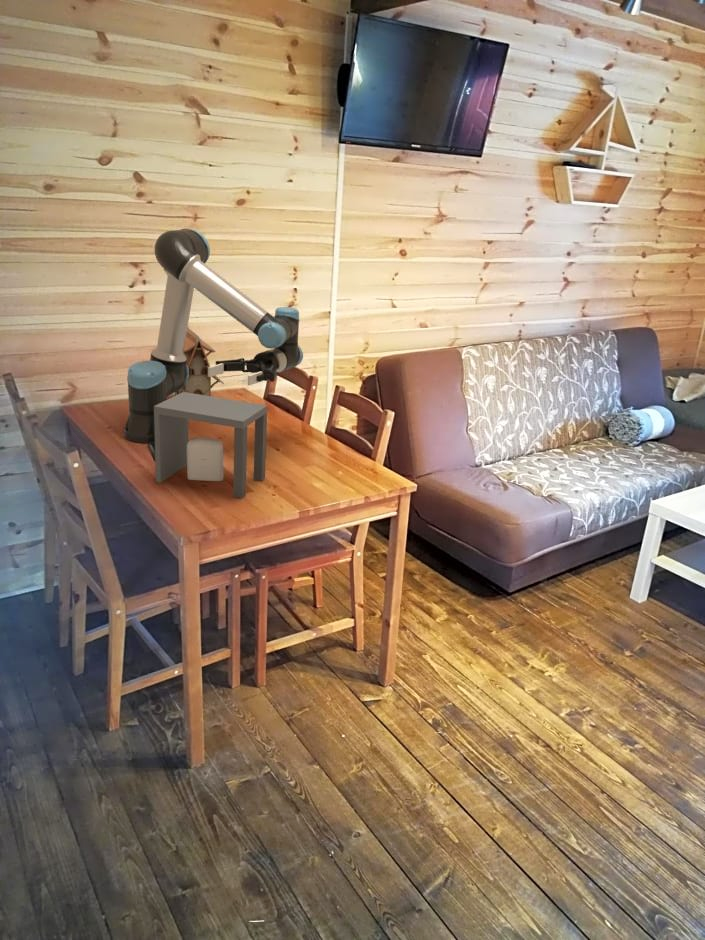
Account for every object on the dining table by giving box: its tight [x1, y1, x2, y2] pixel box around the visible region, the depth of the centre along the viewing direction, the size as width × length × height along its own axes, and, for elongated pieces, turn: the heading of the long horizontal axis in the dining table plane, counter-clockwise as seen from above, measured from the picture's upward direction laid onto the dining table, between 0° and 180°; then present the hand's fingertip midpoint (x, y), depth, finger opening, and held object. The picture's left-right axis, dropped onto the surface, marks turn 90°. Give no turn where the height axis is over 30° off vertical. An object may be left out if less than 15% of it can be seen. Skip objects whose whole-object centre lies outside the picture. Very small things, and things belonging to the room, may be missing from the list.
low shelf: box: [154, 392, 268, 499], centre depth 201 cm, size 26×16×22 cm, turn 74°
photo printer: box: [186, 436, 224, 482], centre depth 203 cm, size 10×4×12 cm, turn 91°
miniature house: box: [172, 327, 224, 397], centre depth 259 cm, size 18×24×30 cm
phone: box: [147, 442, 155, 462], centre depth 222 cm, size 8×1×15 cm
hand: (228, 376), depth 204 cm, fingers open, 13 cm apart
